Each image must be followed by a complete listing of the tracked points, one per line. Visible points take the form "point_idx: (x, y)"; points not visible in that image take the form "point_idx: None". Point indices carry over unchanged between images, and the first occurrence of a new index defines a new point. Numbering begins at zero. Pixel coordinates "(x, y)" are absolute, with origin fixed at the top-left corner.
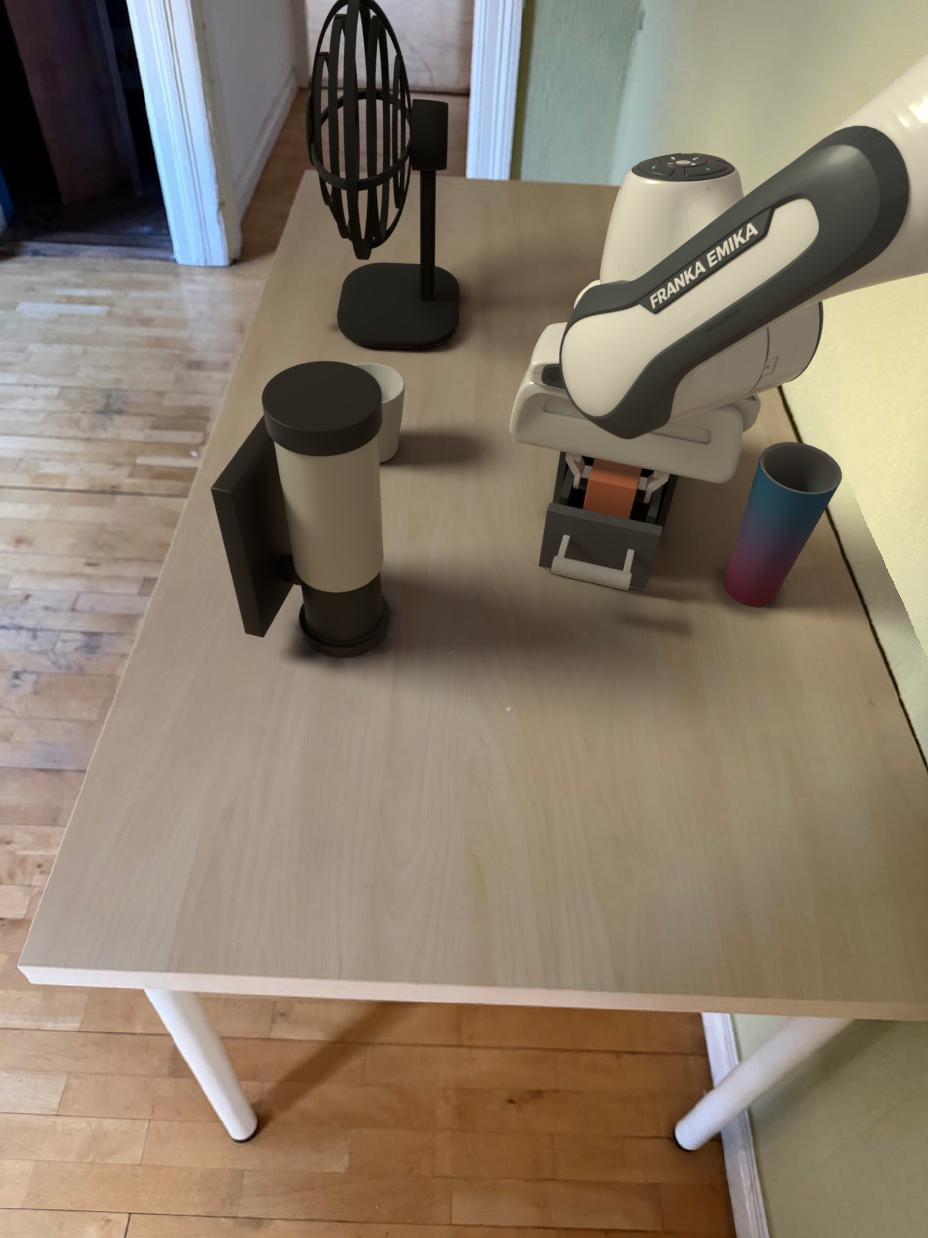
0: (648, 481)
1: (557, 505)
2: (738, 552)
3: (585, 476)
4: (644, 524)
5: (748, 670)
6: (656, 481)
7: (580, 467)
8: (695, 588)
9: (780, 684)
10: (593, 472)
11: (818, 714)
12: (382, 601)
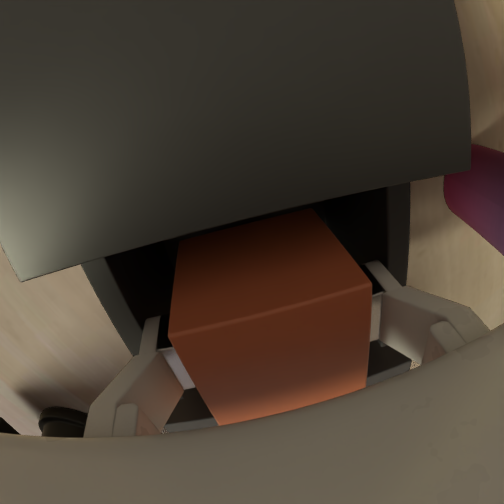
0: (388, 320)
1: (182, 427)
2: (498, 245)
3: (193, 385)
4: (377, 379)
5: (457, 299)
6: (420, 363)
7: (167, 397)
8: (410, 218)
9: (478, 295)
10: (222, 416)
11: (495, 303)
12: (84, 427)
